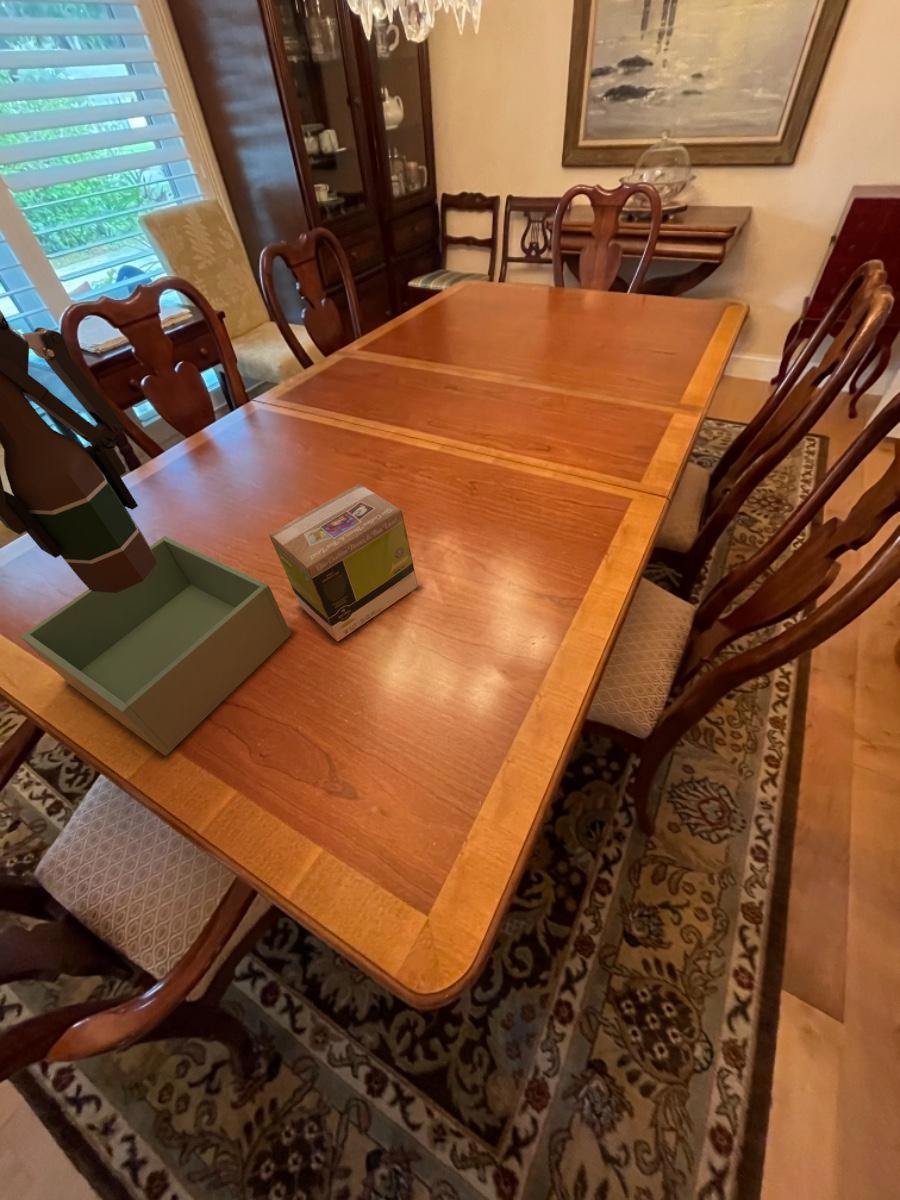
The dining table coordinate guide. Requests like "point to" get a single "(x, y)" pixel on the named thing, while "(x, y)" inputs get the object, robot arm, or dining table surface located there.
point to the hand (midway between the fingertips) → (91, 526)
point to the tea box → (347, 559)
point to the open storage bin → (164, 642)
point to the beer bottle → (70, 498)
